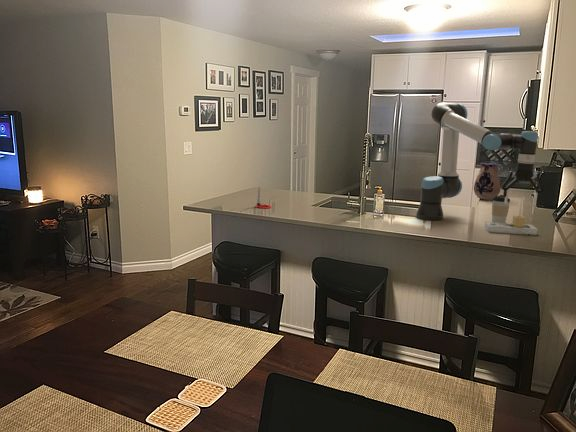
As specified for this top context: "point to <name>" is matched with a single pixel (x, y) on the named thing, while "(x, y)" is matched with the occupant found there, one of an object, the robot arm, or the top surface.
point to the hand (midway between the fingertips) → (519, 204)
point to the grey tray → (510, 228)
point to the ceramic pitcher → (487, 181)
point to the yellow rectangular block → (518, 221)
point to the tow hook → (260, 204)
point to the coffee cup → (499, 209)
